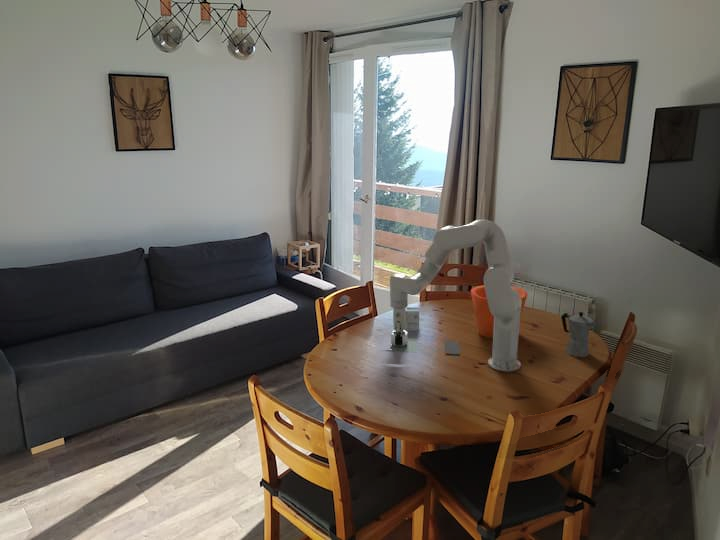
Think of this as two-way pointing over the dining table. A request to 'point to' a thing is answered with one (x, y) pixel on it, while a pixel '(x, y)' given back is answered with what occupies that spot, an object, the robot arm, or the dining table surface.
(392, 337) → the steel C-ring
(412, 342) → the peg stand
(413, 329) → the light bulb box
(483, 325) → the flowerpot
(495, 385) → the dining table surface
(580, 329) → the coffeepot
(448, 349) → the charcoal mat
